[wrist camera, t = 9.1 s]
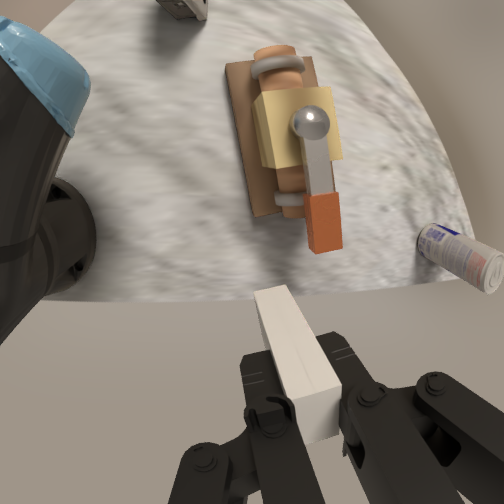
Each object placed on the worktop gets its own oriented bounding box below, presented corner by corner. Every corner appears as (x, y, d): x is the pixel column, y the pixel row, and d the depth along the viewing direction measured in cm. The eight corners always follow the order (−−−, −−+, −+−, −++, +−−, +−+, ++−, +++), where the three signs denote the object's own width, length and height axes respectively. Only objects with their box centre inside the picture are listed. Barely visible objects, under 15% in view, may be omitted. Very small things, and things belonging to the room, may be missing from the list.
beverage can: (420, 262, 40) (484, 303, 26) (412, 234, 38) (483, 270, 24) (442, 244, 40) (507, 278, 26) (435, 215, 38) (506, 244, 24)
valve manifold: (252, 213, 34) (266, 233, 26) (225, 68, 28) (230, 40, 20) (330, 198, 35) (365, 213, 26) (306, 61, 29) (334, 36, 20)
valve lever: (335, 241, 26) (344, 248, 24) (305, 247, 26) (313, 254, 24) (319, 107, 22) (328, 103, 20) (286, 109, 22) (293, 105, 20)
